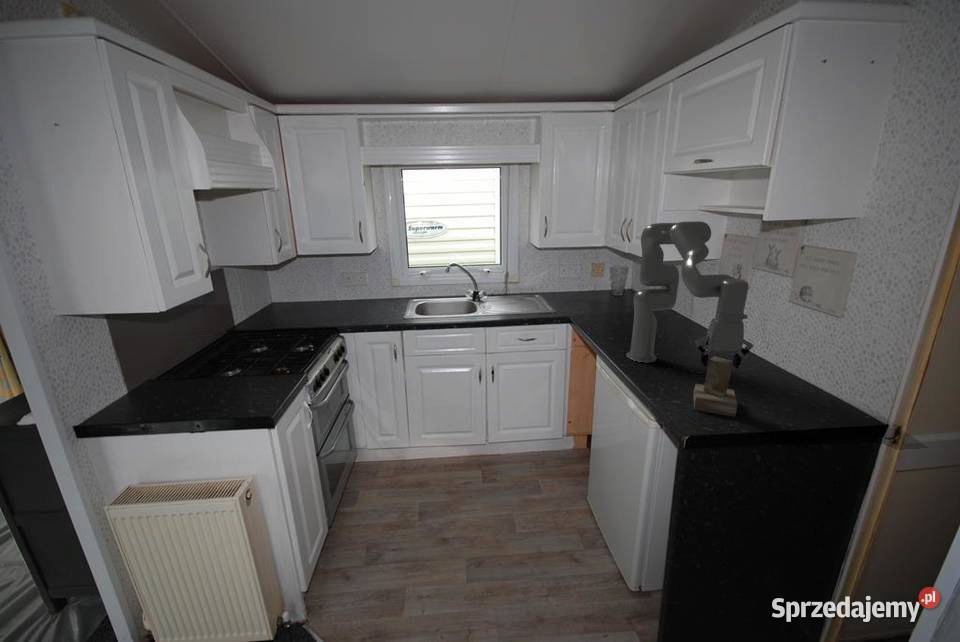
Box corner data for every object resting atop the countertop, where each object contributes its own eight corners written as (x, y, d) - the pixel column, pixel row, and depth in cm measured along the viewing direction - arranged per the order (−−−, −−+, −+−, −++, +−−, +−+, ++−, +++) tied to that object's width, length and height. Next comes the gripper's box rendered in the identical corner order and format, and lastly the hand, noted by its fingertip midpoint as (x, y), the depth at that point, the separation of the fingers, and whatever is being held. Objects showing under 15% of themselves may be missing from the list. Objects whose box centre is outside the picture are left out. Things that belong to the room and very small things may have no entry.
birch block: (693, 395, 148) (695, 383, 146) (731, 402, 142) (733, 389, 141) (693, 410, 137) (696, 397, 136) (734, 418, 132) (737, 404, 131)
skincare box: (702, 391, 140) (707, 358, 136) (708, 387, 143) (712, 355, 139) (723, 397, 135) (728, 364, 132) (728, 393, 138) (733, 360, 134)
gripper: (753, 315, 133) (743, 363, 138) (696, 312, 136) (688, 359, 141) (763, 322, 126) (752, 372, 131) (703, 319, 129) (695, 368, 134)
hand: (719, 365), depth 136 cm, fingers open, 9 cm apart
